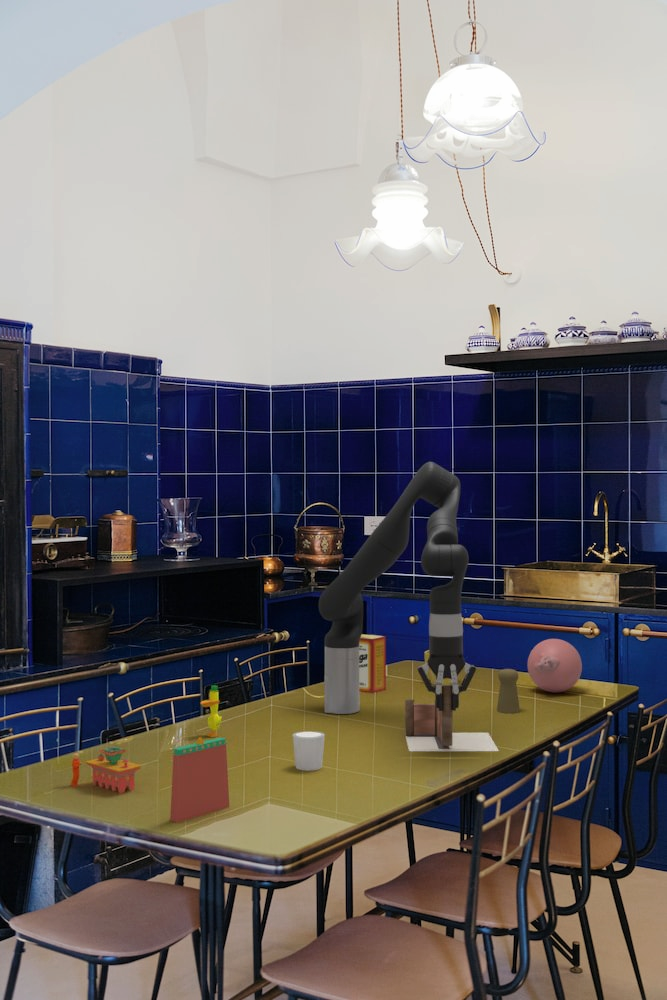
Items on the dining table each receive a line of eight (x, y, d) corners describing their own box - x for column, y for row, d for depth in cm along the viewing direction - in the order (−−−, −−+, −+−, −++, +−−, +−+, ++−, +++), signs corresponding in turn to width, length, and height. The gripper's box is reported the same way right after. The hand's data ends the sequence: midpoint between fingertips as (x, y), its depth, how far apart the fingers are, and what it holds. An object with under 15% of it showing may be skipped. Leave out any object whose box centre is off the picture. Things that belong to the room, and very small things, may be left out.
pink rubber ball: (511, 696, 304) (511, 641, 304) (540, 685, 320) (540, 634, 320) (562, 702, 295) (562, 646, 295) (590, 690, 311) (590, 637, 311)
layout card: (409, 752, 239) (409, 750, 239) (404, 734, 257) (404, 732, 257) (499, 752, 239) (499, 750, 239) (488, 734, 257) (488, 732, 257)
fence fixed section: (405, 736, 253) (405, 701, 253) (405, 734, 255) (404, 699, 255) (443, 736, 253) (443, 701, 253) (442, 734, 255) (442, 699, 255)
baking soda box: (346, 689, 314) (346, 635, 314) (359, 686, 319) (359, 632, 319) (372, 693, 308) (372, 637, 308) (385, 689, 314) (385, 635, 313)
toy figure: (206, 740, 252) (206, 689, 251) (196, 737, 254) (196, 687, 254) (227, 734, 257) (227, 684, 257) (216, 732, 259) (216, 683, 259)
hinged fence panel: (434, 735, 252) (434, 677, 252) (444, 735, 252) (444, 677, 252) (442, 747, 240) (442, 687, 240) (453, 747, 240) (453, 687, 240)
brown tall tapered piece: (519, 708, 286) (519, 667, 286) (520, 713, 280) (520, 671, 280) (496, 708, 287) (496, 667, 287) (497, 713, 281) (497, 671, 281)
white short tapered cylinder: (314, 772, 222) (314, 739, 222) (286, 768, 226) (286, 735, 226) (330, 765, 228) (330, 732, 228) (303, 761, 232) (303, 729, 232)
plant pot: (425, 687, 318) (425, 654, 318) (423, 680, 328) (423, 649, 328) (460, 687, 317) (460, 654, 317) (457, 681, 328) (457, 649, 328)
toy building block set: (177, 823, 190) (177, 744, 189) (63, 787, 213) (62, 716, 213) (229, 808, 199) (229, 731, 199) (114, 774, 222) (114, 706, 222)
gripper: (474, 630, 245) (476, 706, 245) (413, 631, 245) (414, 707, 245) (479, 635, 237) (480, 713, 237) (416, 635, 237) (417, 714, 237)
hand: (447, 709), depth 241 cm, fingers closed on hinged fence panel, 2 cm apart
